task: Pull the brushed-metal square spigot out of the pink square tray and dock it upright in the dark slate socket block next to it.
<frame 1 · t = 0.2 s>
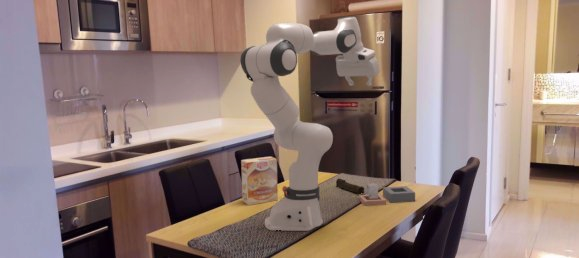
hand: (360, 85, 189), 51 cm above the table, tool tilted 20°, fingers open, 8 cm apart
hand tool: (347, 191, 213), on the table
spigot: (372, 193, 193), in the pink square tray
pink square tray: (372, 202, 193), on the table
socket block: (398, 198, 197), on the table
coffeecake box: (260, 201, 200), on the table
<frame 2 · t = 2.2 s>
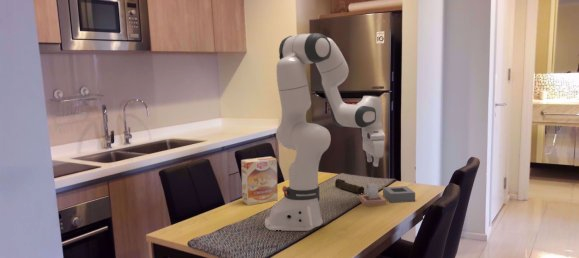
hand: (372, 164, 191), 17 cm above the table, tool pointing down, fingers open, 8 cm apart
nothing on the table moved.
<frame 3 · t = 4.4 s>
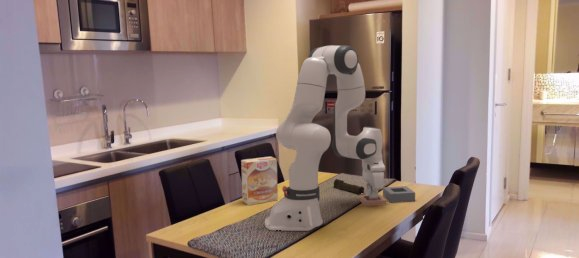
hand: (372, 194, 193), 4 cm above the table, tool pointing down, fingers closed on spigot, 4 cm apart
spigot: (372, 193, 193), in the pink square tray, touching gripper
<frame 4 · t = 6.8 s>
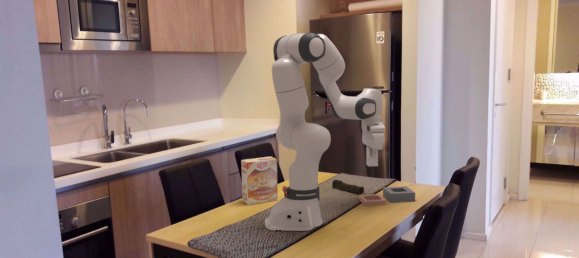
hand: (372, 157, 191), 20 cm above the table, tool pointing down, fingers closed on spigot, 4 cm apart
spigot: (372, 156, 191), point 21 cm above the table, touching gripper
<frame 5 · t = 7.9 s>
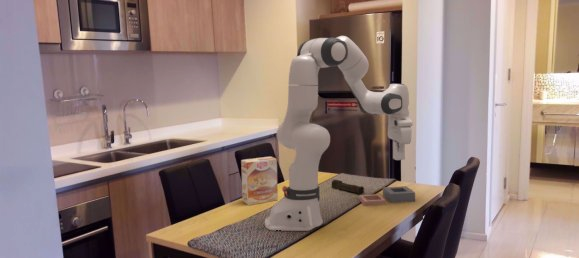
hand: (398, 151, 195), 22 cm above the table, tool pointing down, fingers closed on spigot, 4 cm apart
spigot: (398, 150, 195), point 22 cm above the table, touching gripper
when the fingers open (5 cm above the table, at t = 11.6 s): spigot drops 1 cm, resting in socket block.
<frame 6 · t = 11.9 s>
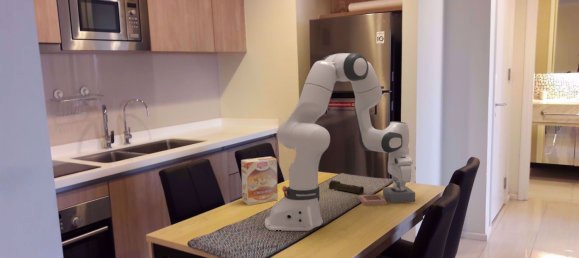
hand: (398, 187, 197), 5 cm above the table, tool pointing down, fingers open, 7 cm apart
spigot: (398, 190, 197), in the socket block
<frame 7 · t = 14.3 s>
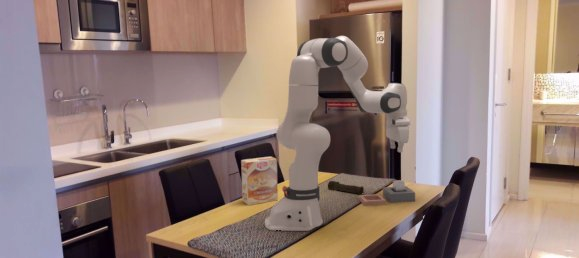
hand: (396, 150, 196), 22 cm above the table, tool pointing down, fingers open, 8 cm apart
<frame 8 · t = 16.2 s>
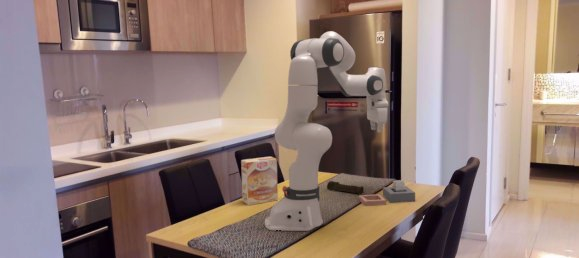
hand: (376, 131, 207), 29 cm above the table, tool pointing down, fingers open, 8 cm apart
at the end: spigot 0.0 cm off-centre on the socket block, point 4.0 cm above the socket block's base; spigot tilted 0°; the gripper is holding nothing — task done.
